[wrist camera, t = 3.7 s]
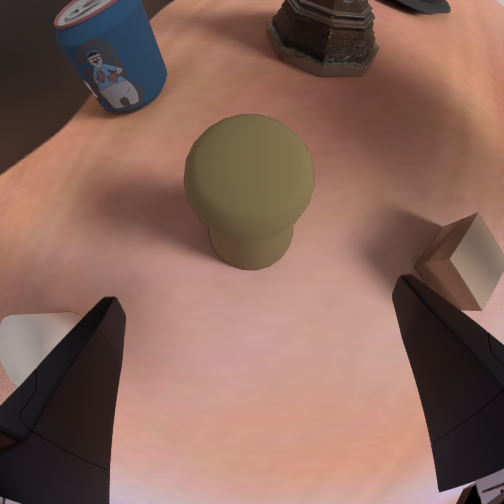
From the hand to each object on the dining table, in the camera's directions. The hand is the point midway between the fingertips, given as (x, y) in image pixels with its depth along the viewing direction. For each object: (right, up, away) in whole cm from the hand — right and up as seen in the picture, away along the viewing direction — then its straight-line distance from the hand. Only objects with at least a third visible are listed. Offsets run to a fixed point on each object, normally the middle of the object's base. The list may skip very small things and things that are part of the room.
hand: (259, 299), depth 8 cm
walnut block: (+16, 0, +12) cm, 20 cm away
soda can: (-11, +17, +14) cm, 25 cm away
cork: (0, +3, +12) cm, 13 cm away
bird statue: (+10, +23, +15) cm, 29 cm away
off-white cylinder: (-15, -6, +11) cm, 19 cm away
